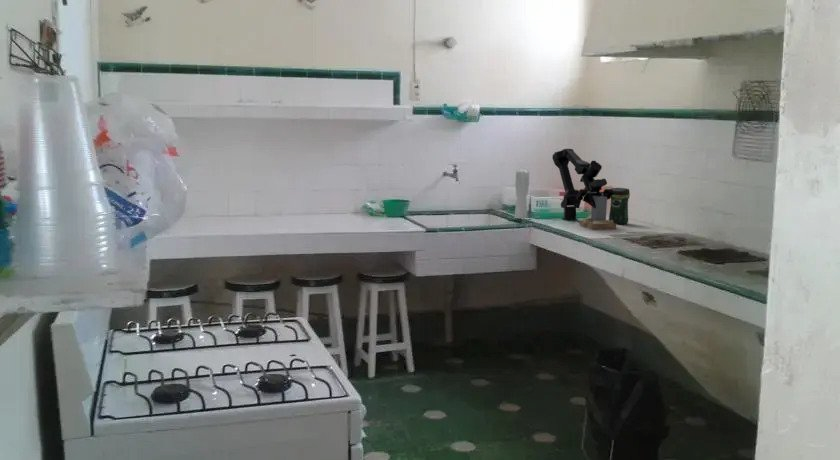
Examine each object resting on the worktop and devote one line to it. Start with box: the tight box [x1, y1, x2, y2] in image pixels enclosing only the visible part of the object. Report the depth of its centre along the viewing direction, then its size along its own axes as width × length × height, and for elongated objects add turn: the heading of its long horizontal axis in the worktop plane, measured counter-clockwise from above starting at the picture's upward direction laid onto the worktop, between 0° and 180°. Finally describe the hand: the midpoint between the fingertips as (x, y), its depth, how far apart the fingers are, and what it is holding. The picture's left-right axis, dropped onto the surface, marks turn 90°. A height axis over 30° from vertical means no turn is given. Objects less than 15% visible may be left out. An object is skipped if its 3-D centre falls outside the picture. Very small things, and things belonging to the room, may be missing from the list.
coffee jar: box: [608, 187, 631, 225], centre depth 396 cm, size 10×8×19 cm
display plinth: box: [579, 217, 617, 231], centre depth 381 cm, size 14×12×4 cm
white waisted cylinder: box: [513, 166, 532, 220], centre depth 403 cm, size 8×8×28 cm
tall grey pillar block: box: [590, 196, 608, 221], centre depth 380 cm, size 5×6×12 cm
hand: (600, 207), depth 379 cm, fingers closed on tall grey pillar block, 5 cm apart
